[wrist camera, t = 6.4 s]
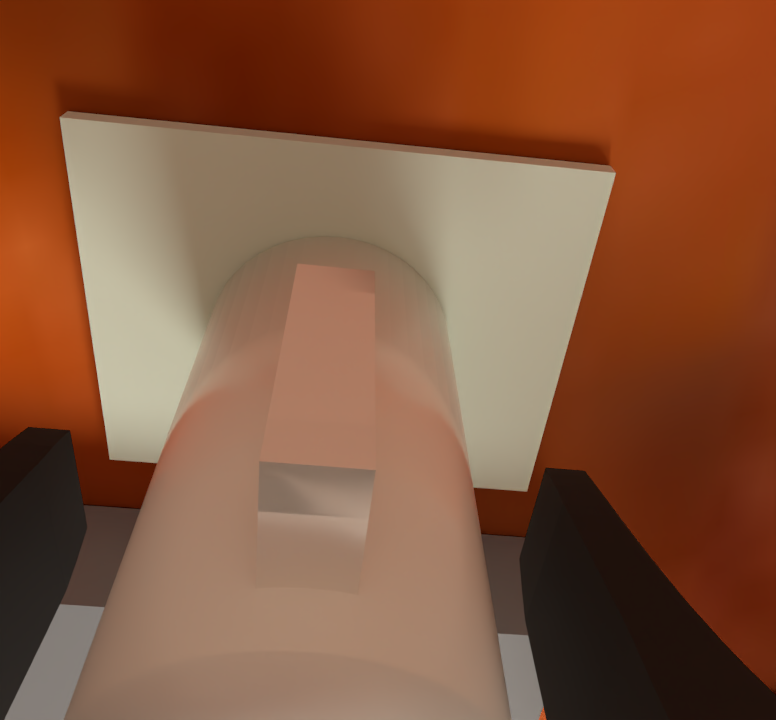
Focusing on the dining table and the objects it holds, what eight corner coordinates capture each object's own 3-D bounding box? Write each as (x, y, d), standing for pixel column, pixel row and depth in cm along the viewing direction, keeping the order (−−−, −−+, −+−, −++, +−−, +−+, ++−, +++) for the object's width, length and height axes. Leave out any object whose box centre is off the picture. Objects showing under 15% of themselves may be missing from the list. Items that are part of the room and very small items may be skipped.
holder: (546, 539, 19) (569, 637, 17) (472, 773, 26) (480, 869, 23) (-78, 493, 18) (-151, 590, 16) (10, 747, 25) (-32, 844, 23)
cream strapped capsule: (425, 468, 17) (464, 919, 10) (212, 451, 17) (86, 908, 10) (483, 170, 13) (621, 548, 6) (206, 139, 13) (-20, 503, 6)
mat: (610, 165, 14) (615, 173, 13) (524, 479, 18) (526, 491, 18) (67, 111, 13) (59, 117, 13) (115, 448, 18) (109, 459, 17)
